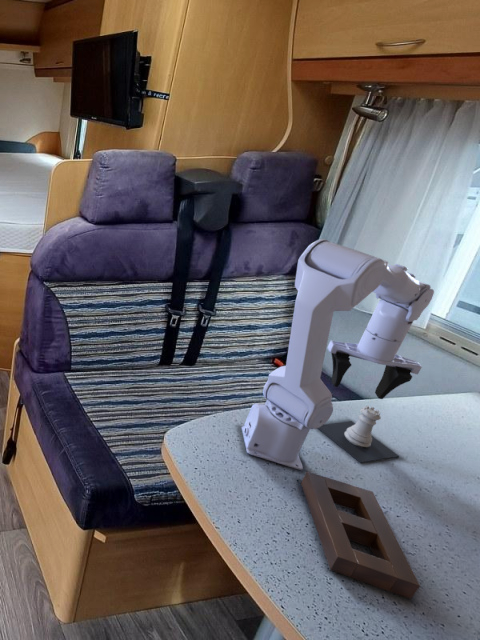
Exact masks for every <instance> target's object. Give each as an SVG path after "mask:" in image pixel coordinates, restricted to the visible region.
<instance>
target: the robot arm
mask: <svg viewBox="0 0 480 640" xmlns="http://www.w3.org/2000/svg"><path fill="white" fill-rule="evenodd" d="M297 259H298V260H297V266H296V272H295V280H294V287H295V289H296V291H297V294H296V298H295V302H294V309H293V316H292V322H291V328H290V335H289V342H288V348H287V356H286V361H285V365H282V366H279V367H277V368H276V369H274V370H273V371H271V372H270V373H269V374H268V379H267V380H266V382H265V383H264V386H263V388H262V395H263V397H264V399H266V400H265V403H254V404H252V406H251V407H250V409H249V412H248V414H247V417H246V419H245V422H244V425H242V426H241V432H242V436H243V440H244V441H243V442H244V445H245V451H246V453H247V454H248V455H251V456H254V457H257V458H261V459H263V460H267V461H271V462H273V463H277V464H280V465H282V466H286V467H289V468H291V469H296V470H300V471H303V469H304V467H303V463H302V461H301V459H300V458H301V457H300V456H299V453H300V451H301V449H302V447H303V445H304V443H305V441H306V439H307V437H308V434H309V432H310V430H315V429H317V430H318V428H319V427H321V426H322V425H324V424H327V422H328V421H329V420H330V418H331V417H332V415H333V413H334V405H333V402H332V397H333V394H332V392H331V391H330V389H329V388H328V387H327V386H326V384H325V383H324V381H322V378H321V377H322V371H323V366H324V361H325V357H326V351H328V352H329V353H331V360H332V361H331V362H332V373H331V379H330V380H331V381H330V382H331V384H332V386H333V387H336V388H338V387H339V386H340V385H341V382H342V380H343V378H344V376H345V374H346V373H347V371H348V370H349V369H350V368H351V367H352V363H351V361H350V360H351V358H350V357H352V358H356V359H360V360H363V361H368V362H371V363H374V364H377V365H383V366H385V367H384V371H383V374H382V376H381V379H380V381H379V382H378V384H377V386H376V388H375V392H374V393H375V395H376V397H377V399H379V400H384V399H385V397H386V396H387V395H389V394H390V393H391V392H392V391H393V390H395V389H396V388H398V387H400V386H402V385H404V384H406V383H409V382H410V381H412V379H413V375H412V374H415V375H419V373H420V371H421V369H422V368H423V366H422V364H421V363H420V362H419V361H417V360H415V359H412V358H411V359H410V358H408V357H405V356H402V355H399V354H397V353H398V351H399V349H400V348H401V345H402V344H403V342H404V340H405V338H406V336H407V334H408V332H409V331H410V328H411V327H412V325H413V323H414V321H418V319H419V318H420V317H421V315H422V313H423V312H424V311H425V310H426V309H427V307H428V306H429V305H430V304H431V302H432V301H433V298H434V295H435V289H433V288H432V287H431V285H430V284H428V283H425V282H422V281H420V280H417V279H416V275H415V274H414V273H411V272H408V269H409V268H408V267H406V266H405V265H401V264H398V263H395V264H389V261H387V260H386V259H385V260H384V259H383V258H381V257H378V256H374V255H371V254H368V253H365V252H362V251H359V250H357V249H354V248H350V247H347V246H345V245H342V244H338V243H335V242H330V241H329V240H328V239H325V238H320V239H317V240H315V241H313V242H312V243H310V244H309V245H308V246H307V247H306V248H305V250H304V251H303V252H302V253H301V255H300V256H299V258H297ZM372 293H374V294H375V298H376V300H378V299H379V300H378V302H377V304H376V307H375V309H374V311H373V313H372V315H371V317H370V319H369V321H368V323H367V325H366V327H365V329H364V331H363V333H362V336H361V338H360V340H359V342H358V343H354V342H345V341H336V340H332V339H331V340H329V338H330V337H329V336H330V332H331V328H332V327H331V326H332V321H333V316H334V313H335V312H350V311H351V310H352V309H354V308H355V307H356V306H359V304H360V303H362V301H364V300H365V299H366V298H367V297H368V296H369V295H370V294H372ZM328 341H329V343H328Z"/></svg>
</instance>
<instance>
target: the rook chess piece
mask: <svg viewBox="0 0 480 640" xmlns="http://www.w3.org/2000/svg"><path fill="white" fill-rule="evenodd" d="M360 413H361V414H359V415H358V420H357V421H356V422H355V425H353V426H351V427H349V428H347V431H346V432H345V433H344V434H345V437H346V439H347V440H348V441H349V442H351V443H353V444H354V445H357V446H359V447H369V446H371V442H372V436H373V435H372V430H373V428H374V426H375V425H376V424H377V421H380V420H381V418H382V416H381V412H380V411H379V410H378V409H375V407H373V406H371V407H370V406H369V405H366V406H364V407H362V408H361V409H360Z"/></svg>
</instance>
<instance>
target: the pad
mask: <svg viewBox="0 0 480 640" xmlns="http://www.w3.org/2000/svg"><path fill="white" fill-rule="evenodd" d="M355 424H356V422H354V421H352V420H348V421H342V422H334V423H325V424H324V425H322V426H321V427H319V428H317V430H319V431H320V432H321V433H323V434H324V435H325V436H326V437H328V438H329V439H330V440H331V441H332V442H334V443H335V444H336V445H338V446H339V447H340V448H341V449H342V450H344V451H345V452H346V453H347V454H348V455H350V456H351V457H353V459H355V460H356V461H358V462H359V463H360V464H366V463H370V462H371V463H372V462H379V461H383V460H390V459H396V458H399V457H400V455H398V454H397V453H396V452H394V451H393V450H392V449H390V448H389V447H388V446H386V445H385V444H384V443H382V442H381V441H379V440H378V439H377V438H376V437H374V436H373V435H372V442H371V446H369V447H359V446H357V445H354V444H353V443H351V442H349V441H348V440H347V439H346V437H345V434H344V433H345V432H346V431H347V428H349V427H351V426H353V425H355Z"/></svg>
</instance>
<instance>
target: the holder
mask: <svg viewBox="0 0 480 640" xmlns="http://www.w3.org/2000/svg"><path fill="white" fill-rule="evenodd" d="M300 484H301V488H302V490H303V493H304V496H305V499H306V502H307V506H308V508H309V511H310V514H311V517H312V520H313V523H314V526H315V529H316V532H317V535H318V538H319V541H320V544H321V546H322V550H323V553H324V555H325V558H326V561H327V564H328V568H329V570H330V571H333V572H335V573H337V574H340V575H344V576H346V577H349V578H351V579H354V580H357V581H360V582H363V583H365V584H368V585H371V586H374V587H375V588H379V589H382V590H384V591H387V592H390V593H393V594H395V595H398V596H400V597H403V598H406V599H408V600H412V598H413V597H414V596H415V594H416V593H417V592H418V590H419V589H420V587H421V585H420V583H419V581H418V579H417V577H416V575H415V573H414V571H413V569H412V566H411V564H410V563H409V561H408V558H407V557H406V555H405V553H404V551H403V549H402V547H401V545H400V543H399V541H398V539H397V537H396V535H395V533H394V531H393V528H392V527H391V525H390V523H389V521H388V519H387V517H386V515H385V514H384V511H383V509H382V507H381V505H380V503H379V501H378V500H377V497H376V495H375V493H374V492H373V491H372V490H369V489H366V488H362V487H359V486H355V485H352V484H350V483H346V482H344V481H340V480H336V479H334V478H330V477H327V476H323V475H321V474H318V473H314V472H311V471H306V472H305V474H304V476H303V478H302V480H301V482H300ZM336 505H337V506H341V507H344V508H347V509H350V510H353V512H354V514H352V513H349V512H346V511H342V510H340V509H337V507H336ZM351 542H354V543H356V544H360V545H362V546H366V547H369V548H370V551H371V553H372V554H369V553H366V552H363V551H360V550H357V549H354V548H353V547H352V545H351Z"/></svg>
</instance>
